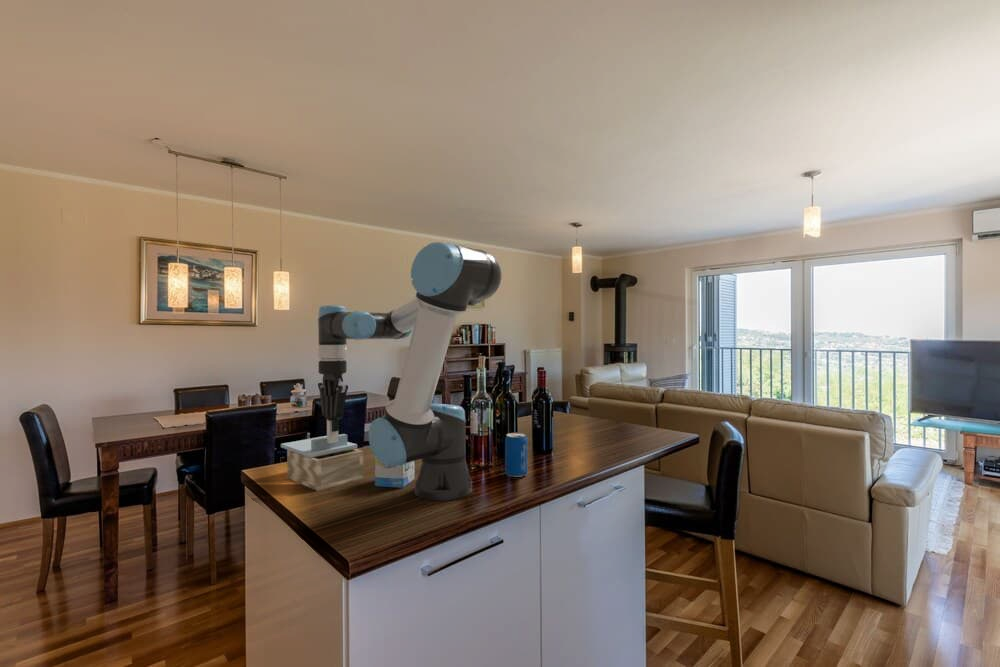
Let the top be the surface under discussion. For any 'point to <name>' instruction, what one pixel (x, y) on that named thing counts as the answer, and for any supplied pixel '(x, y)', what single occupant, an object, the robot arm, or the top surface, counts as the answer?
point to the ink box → (393, 474)
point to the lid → (319, 446)
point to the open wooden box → (325, 468)
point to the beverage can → (516, 454)
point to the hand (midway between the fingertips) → (332, 442)
